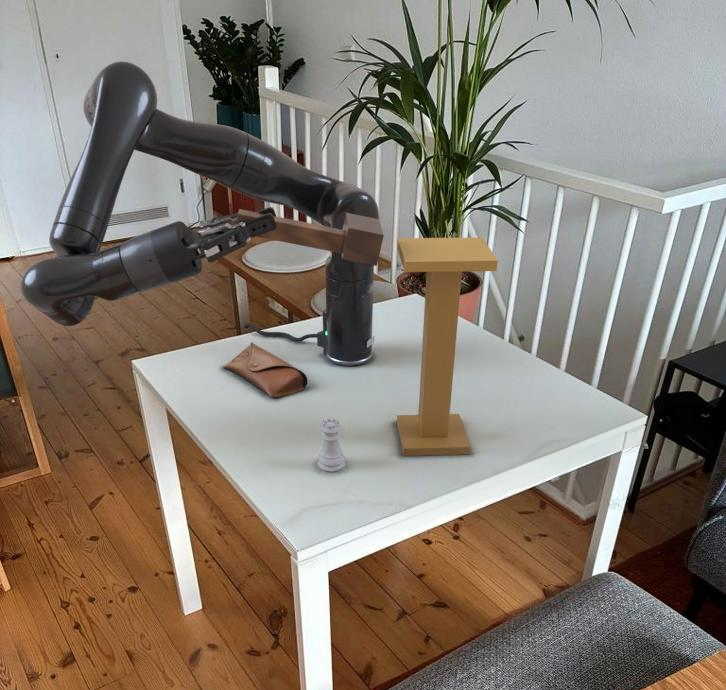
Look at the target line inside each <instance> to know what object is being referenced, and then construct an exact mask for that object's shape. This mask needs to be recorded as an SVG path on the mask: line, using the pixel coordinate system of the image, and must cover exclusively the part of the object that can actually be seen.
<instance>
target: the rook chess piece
mask: <svg viewBox="0 0 726 690" xmlns="http://www.w3.org/2000/svg"><path fill="white" fill-rule="evenodd" d="M319 429H320V431H322V435H321V438H322V449H321V450H320V453H319V454H318V456H317V460H318V461H317V466H318V468H320V469H321V470H322V471H324V472H327V473H335V472H340V471H341V470H342V469H343V468H344V467H345V466H346V461H345V460H346V457H345V453H344V452H343V450H342V449H341V446H340V437H341V434H340V433H339V432H340V431H341V430H342V426H341V424H340V422H339V419H338V420H337V418H332V420H331V418H330V417H328V418H326V419H323V420H322V424H321V425H320V427H319Z"/></svg>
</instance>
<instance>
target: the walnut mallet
mask: <svg viewBox="0 0 726 690" xmlns="http://www.w3.org/2000/svg"><path fill="white" fill-rule="evenodd" d="M237 213H238V216H237V223H236V224H238V223H240V222H247V221H248V220H251V219H254V218H256V217H259V216H262V215H265V214H262V213H257V211H252V210H246V209H242V208H238V211H237ZM276 216H277V215H276ZM276 216H274V219H275V222H276V225H277V227H276V229H275V230H273V231H270V232H267V233H264V234H262V235H259V236H256V237H257V238H261V239H266V240H272V241H277V242H281V243H285V244H286V243H287V244H292V245H297V246H302V247H307V248H311V249H317V250H323V251H327V252H331V253H332V252H337V253H342V259H343V260H348V261H354V262H359V263H364V264H369V265H374V267H377V266H378V264H379V258H380V254H381V250H382V247H383V246H382V245H383V242H384V237H385V236H384V231H383V228H382V225H381V221H380V218H379V219H375V218H370V217H365V216H360V215H355V214H350V213H346V214H345V219H344V224H343V229H342V230H341V229H336V228H331V227H326V226H323V225H322V224H315V223H311V222H305V221H301V220H297V219H292V218H290V219H289V218H286V217H281V216H277V217H276ZM246 225H247V223H246Z"/></svg>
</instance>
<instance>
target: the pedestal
mask: <svg viewBox="0 0 726 690" xmlns="http://www.w3.org/2000/svg"><path fill="white" fill-rule="evenodd" d="M396 241H397V242H396V250H397V252H398V256H399V259H400V263H401V265H402V268H403V271H404V273H426V275H425V294H424V296H425V297H424V311H423V327H422V328H423V329H422V344H421V345H422V346H421V360H420V361H421V363H420V377H419V378H420V379H419V394H418V395H419V397H418V411H417V412H418V414H397V415H396V426H397V431H398V436H399V442H400V446H401V451H402V456H403V457H417V456H419V457H420V456H457V455H471V444H470V441H469V438H468V435H467V432H466V430H465V427H464V424H463V421H462V418H461V415H460V413H451V405H452V404H451V403H452V393H453V392H452V391H453V380H454V368H455V356H456V346H457V345H456V344H457V335H458V323H459V312H460V311H459V310H460V298H461V287H462V274H463V272H497V271H498V261H499V260H498V259H497V257H496V256H495V254H494V253H493V251H492V249H491V248H490V247H489V245H488V244H487V242H486V241H485V238H483V237H412V238H411V237H398V238H397V239H396Z"/></svg>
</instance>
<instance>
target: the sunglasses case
mask: <svg viewBox="0 0 726 690" xmlns="http://www.w3.org/2000/svg"><path fill="white" fill-rule="evenodd" d="M223 369H226V370H228V371H229V372H232V373H234V374H236V375H237V376H238V377H240V378H241V379H243V380H244V381H246V382H248V383H249V384H251V385H252V386H254V388H256V389H258V390H259V391H261V392H262V393H263V394H265V395H267V396H268V397H270V398H280V397H286V396H289V395H293V394H295V393H298V392H301V391H304V389H306V388H307V385H308V381H309V380H308V377H307V375H306V374H305V372H303V371H302V370H300V368H297V367H294V366H293V365H291V364H290V363H289V362H287V361H285V360H284V359H282V358H280V357H278V356H277V355H275V354H273V353H271V352H269V351H268V350H266V349H264V348H261V347H260V346H258V345H256V344H255V343H254V342H253V341H251V342H250V344H249V345H248V346H247V347H246V348H244V349H243V350H242V351H241V352H240V353H238V354H237V355H236V356H235V357H234V358H233V359H231V361H229V362H228V363H227V364H225V365H223Z"/></svg>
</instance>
